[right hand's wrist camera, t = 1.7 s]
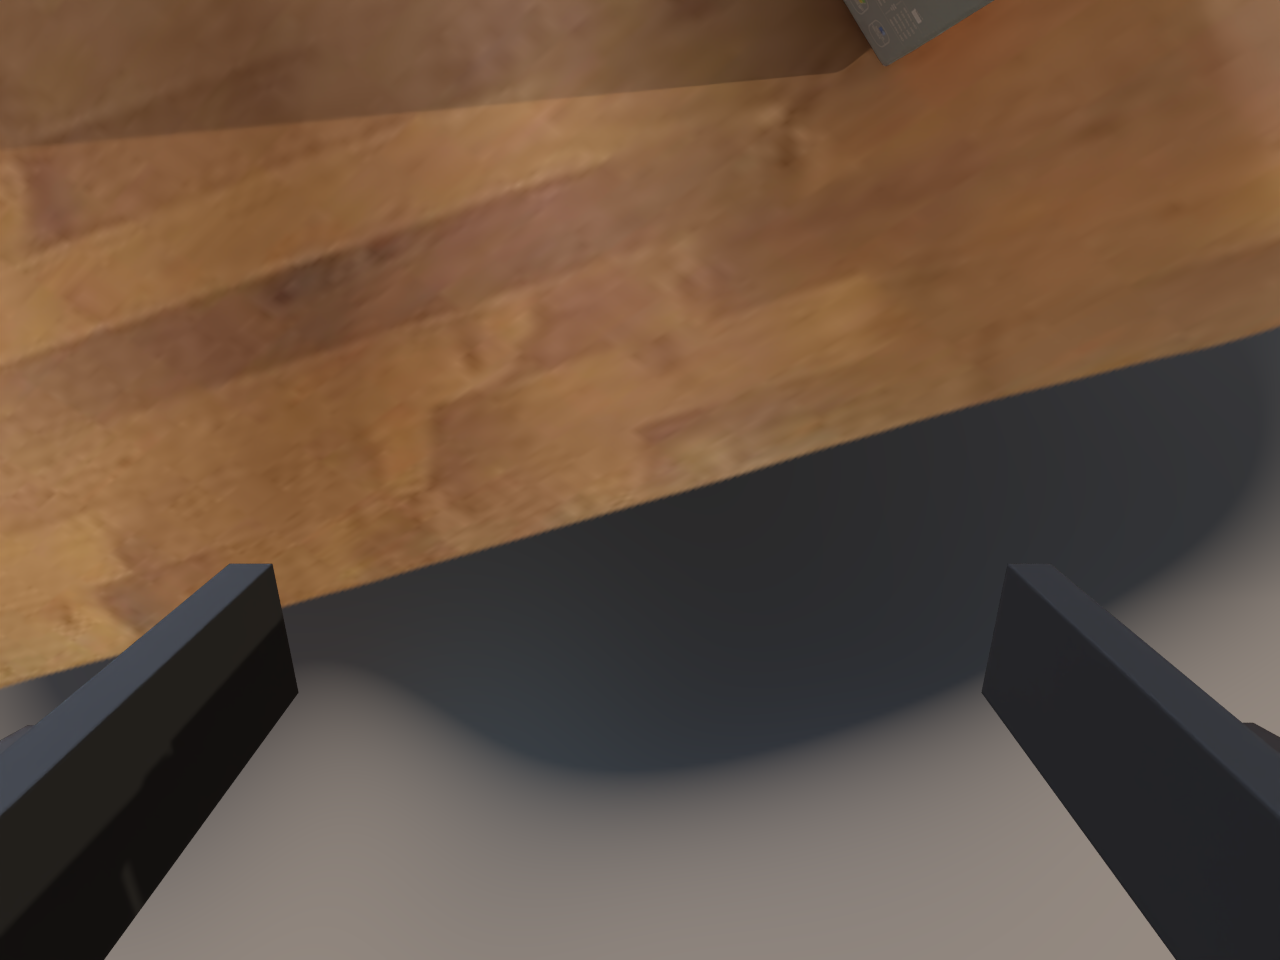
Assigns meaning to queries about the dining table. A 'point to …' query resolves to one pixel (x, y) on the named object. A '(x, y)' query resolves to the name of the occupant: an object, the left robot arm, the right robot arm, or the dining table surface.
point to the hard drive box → (907, 22)
